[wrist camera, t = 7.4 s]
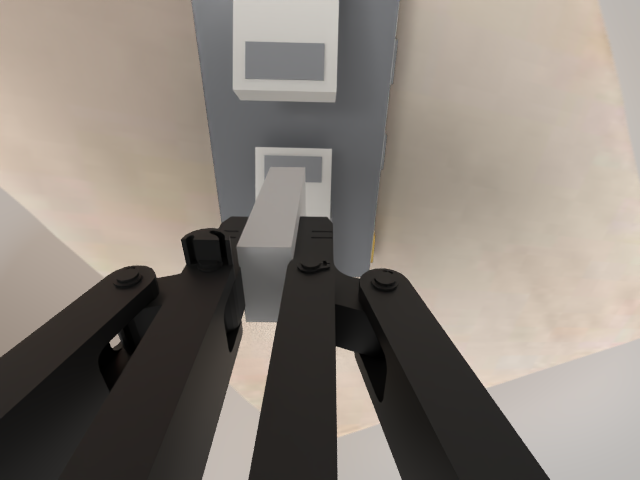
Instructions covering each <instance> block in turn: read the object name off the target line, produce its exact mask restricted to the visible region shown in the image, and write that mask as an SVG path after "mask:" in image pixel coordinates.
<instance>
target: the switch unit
mask: <svg viewBox="0 0 640 480" xmlns="http://www.w3.org/2000/svg"><path fill="white" fill-rule="evenodd" d="M191 1H192V8H193V16H194V23H195V31H196V38H197V45H198V53H199V60H200V67H201V75H202V82H203V89H204V97H205V104H206V111H207V119H208V126H209V134H210V141H211V148H212V156H213V163H214V170H215V178H216V185H217V192H218V200H219V207H220V214H221V222H224V221H225V220H227V219H228V218H229V217H231V216H240V217H249V216H250V213H251V211H252V209H253V206H254V204H255V147H279V148H319V149H332V165H331V200H330V221H331V222H332V223H333V258H334V265H335V267H336V268H337V269H338V270H339V271H340V272H341V273H343V274H345V275H347V276H351V277H361V276H362V274H364V273H365V272H367V271H369V268H370V263H372V262H373V253H374V244H375V233H374V227H375V218H376V209H377V200H378V191H379V182H380V173H381V170H383V166H384V157H385V149H386V140H387V134H386V132H385V128H386V119H387V110H388V101H389V92H390V84H393V79H394V70H395V62H396V53H397V44H398V40H397V39H396V30H397V21H398V12H399V3H400V0H339V18H338V53H337V89H336V100H335V102H294V101H253V100H240V99H239V98H238V96H237V95H236V94H235V92H234V91H233V0H191Z"/></svg>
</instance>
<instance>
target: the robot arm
mask: <svg viewBox="0 0 640 480" xmlns="http://www.w3.org/2000/svg"><path fill="white" fill-rule="evenodd" d="M181 242H182V247H183V251H184V256H185V260H186V266H185V268H184V269H183V271H182V273H181V274H177V275H172V276H167V277H161V278H156V275H155V272H154V271H153V269H152V268H149V267H147V266H128V267H124V268H122V269H119V270H116V271H115V272H113V273H111V274H110V275H108V276H107V277H105V278H104V279H103V280H101V281H100V282H99V283H97V284H96V285H95V286H93V287H92V288H91V289H89V290H88V291H87V292H86V293H84V294H83V295H82V296H80V297H79V298H78V299H77V300H75V301H74V302H73V303H71V304H70V305H69V306H67V307H66V308H65V309H63V310H62V311H61V312H59V313H58V314H57V315H55V316H54V317H53V318H52V319H50V320H49V321H48V322H46V323H45V324H44V325H42V326H41V327H40V328H38V329H37V330H36V331H35V332H33V333H32V334H31V335H29V336H28V337H27V338H25V339H24V340H23V341H21V342H20V343H19V344H17V345H16V346H15V347H14V348H12V349H11V350H10V351H8V352H7V353H6V354H4V355H3V356H2V357H0V480H202V477H203V473H204V470H205V466H206V463H207V459H208V455H209V452H210V448H211V445H212V441H213V437H214V434H215V431H216V427H217V423H218V420H219V416H220V412H221V409H222V406H223V402H224V398H225V395H226V391H227V388H228V384H229V381H230V377H231V373H232V370H233V366H234V363H235V359H236V356H237V352H238V348H239V345H240V341H241V338H242V334H243V328H242V321H241V319H242V316H243V312H244V309H245V317H246V322H277V326H276V331H275V337H274V342H273V348H272V353H271V359H270V364H269V370H268V375H267V381H266V386H265V392H264V397H263V402H262V408H261V413H260V419H259V425H258V430H257V435H256V441H255V446H254V452H253V457H252V463H251V469H250V474H249V479H248V480H337V414H336V346H337V347H340V348H344V349H347V350H350V351H354V353H355V359H356V361H357V364H358V366H359V369H360V372H361V374H362V377H363V379H364V382H365V385H366V387H367V390H368V392H369V395H370V398H371V400H372V403H373V405H374V408H375V411H376V413H377V416H378V419H379V421H380V424H381V426H382V429H383V432H384V434H385V437H386V439H387V442H388V445H389V447H390V450H391V452H392V455H393V458H394V460H395V463H396V465H397V468H398V471H399V473H400V476H401V478H402V480H550V479H549V477H548V476H547V475H546V473H545V472H544V470H543V469H542V468H541V466H540V465H539V463H538V462H537V460H536V459H535V458H534V456H533V455H532V454H531V452H530V451H529V449H528V448H527V446H526V445H525V444H524V442H523V441H522V439H521V438H520V437H519V435H518V434H517V433H516V431H515V430H514V428H513V427H512V425H511V424H510V422H509V421H508V420H507V418H506V417H505V415H504V414H503V413H502V411H501V410H500V408H499V407H498V406H497V404H496V403H495V401H494V400H493V399H492V397H491V396H490V394H489V393H488V392H487V390H486V389H485V387H484V386H483V384H482V383H481V382H480V380H479V379H478V377H477V376H476V375H475V373H474V372H473V370H472V369H471V368H470V366H469V365H468V363H467V362H466V361H465V359H464V358H463V356H462V355H461V354H460V352H459V351H458V349H457V348H456V346H455V345H454V344H453V342H452V341H451V339H450V338H449V337H448V335H447V334H446V332H445V331H444V330H443V328H442V327H441V325H440V324H439V323H438V321H437V320H436V318H435V317H434V316H433V314H432V313H431V311H430V310H429V308H428V307H427V306H426V304H425V303H424V301H423V300H422V299H421V297H420V296H419V294H418V293H417V292H416V290H415V289H414V287H413V286H412V285H411V283H410V282H409V280H408V279H407V278H406V277H405V276H404V275H403V274H400V273H398V272H396V271H394V270H390V269H373V270H369V271H367V272H365V273H364V274H362V276H361V278H360V279H358V278H354V277H351V276H347V275H345V274H343V273H341V272H340V271H339V270H338V269H337V268H336V267H335V265H334V258H333V223H332V222H331V221H330V220H329V218H328V217H307V216H306V184H305V167H270V169H269V171H268V173H267V176H266V178H265V181H264V183H263V185H262V188H261V190H260V192H259V195H258V197H257V199H256V202H255V204H254V206H253V209H252V211H251V213H250V216H249V217H240V216H231V217H229V218H228V219H227V220H225V221H224V222H222V223H221V225H220V227H219V229H215V228H207V229H200V230H196V231H193V232H191V233H189V234H187V235H185V236H184V237H183V238H182V239H181ZM117 334H118V335H119V337H120V340H121V342H120V343H119V344H118V345H117V346H115V347H114V348H111V346H110V343H109V342H110V340H112V339H113V338H114V337H115V336H116V335H117Z"/></svg>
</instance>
